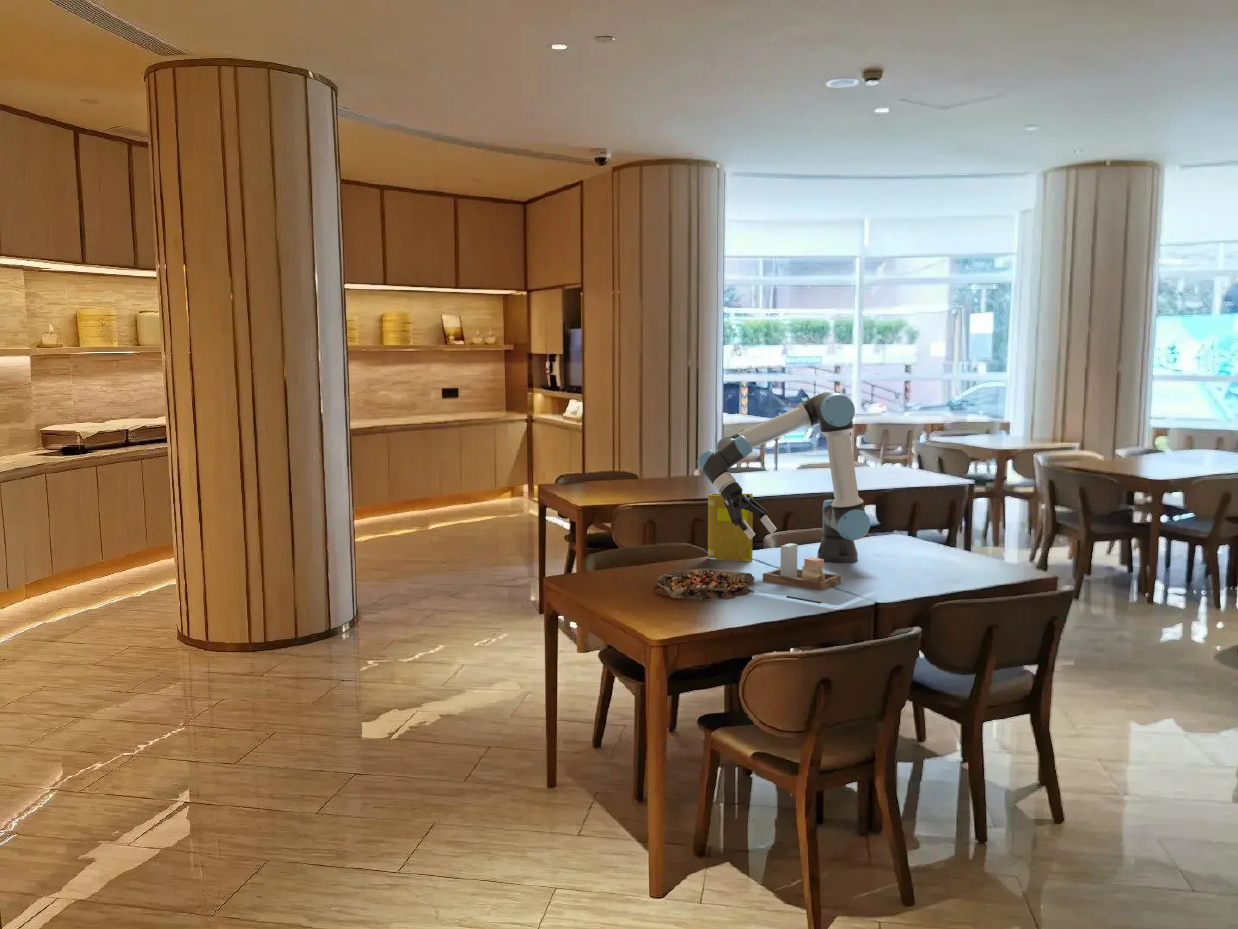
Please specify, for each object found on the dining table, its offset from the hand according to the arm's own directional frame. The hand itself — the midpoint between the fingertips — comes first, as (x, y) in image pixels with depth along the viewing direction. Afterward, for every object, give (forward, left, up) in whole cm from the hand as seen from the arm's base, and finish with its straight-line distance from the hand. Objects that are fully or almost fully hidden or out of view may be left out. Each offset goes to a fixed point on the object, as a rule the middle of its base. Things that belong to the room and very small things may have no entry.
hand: (763, 534), depth 335 cm
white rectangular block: (0, +10, -15) cm, 18 cm away
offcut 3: (0, +20, -15) cm, 24 cm away
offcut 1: (0, +20, -9) cm, 22 cm away
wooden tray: (0, +15, -16) cm, 22 cm away
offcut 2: (0, +19, -12) cm, 23 cm away
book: (-20, -28, -16) cm, 38 cm away
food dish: (+24, -7, -16) cm, 30 cm away
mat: (+12, +26, -16) cm, 33 cm away
